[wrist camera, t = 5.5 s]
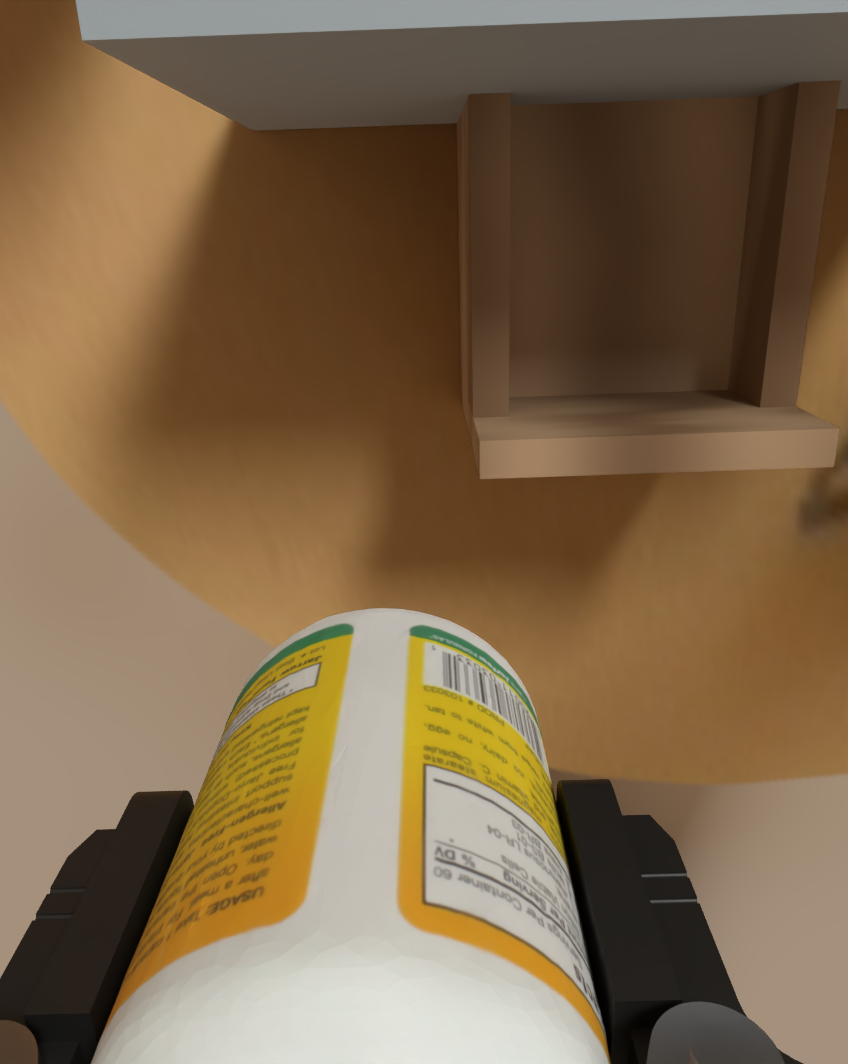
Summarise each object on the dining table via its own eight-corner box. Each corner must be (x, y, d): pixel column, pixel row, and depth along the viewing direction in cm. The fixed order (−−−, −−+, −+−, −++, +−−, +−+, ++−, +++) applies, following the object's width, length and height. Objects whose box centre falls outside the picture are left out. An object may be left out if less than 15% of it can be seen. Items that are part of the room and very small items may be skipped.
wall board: (955, 51, 25) (1547, -132, 12) (945, 105, 25) (1500, -12, 12) (247, 77, 25) (63, -76, 12) (252, 130, 26) (82, 40, 12)
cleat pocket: (740, 113, 25) (898, 61, 17) (712, 394, 29) (833, 467, 20) (457, 123, 26) (476, 76, 17) (461, 403, 29) (480, 479, 20)
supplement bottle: (548, 600, 13) (809, 1400, 4) (524, 854, 15) (669, 1762, 6) (222, 593, 13) (-199, 1390, 4) (239, 848, 15) (-22, 1759, 6)
